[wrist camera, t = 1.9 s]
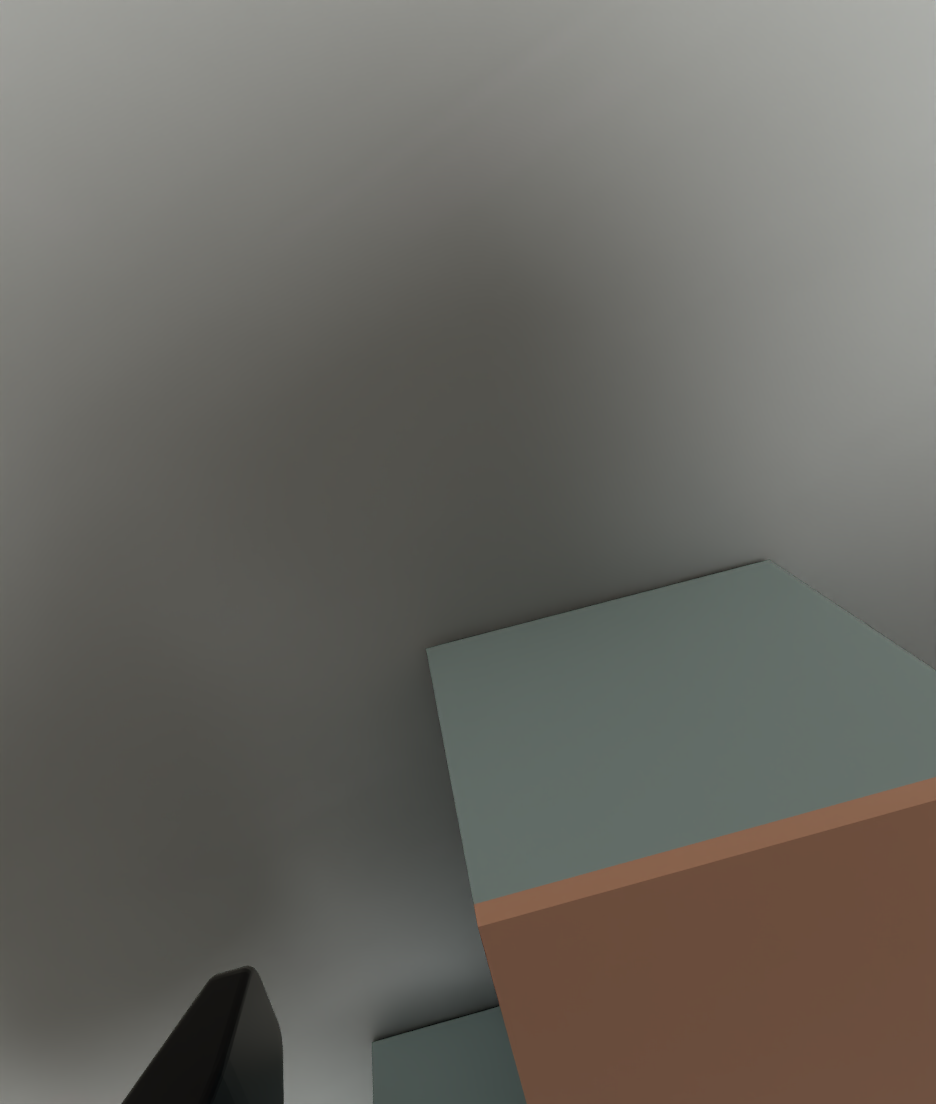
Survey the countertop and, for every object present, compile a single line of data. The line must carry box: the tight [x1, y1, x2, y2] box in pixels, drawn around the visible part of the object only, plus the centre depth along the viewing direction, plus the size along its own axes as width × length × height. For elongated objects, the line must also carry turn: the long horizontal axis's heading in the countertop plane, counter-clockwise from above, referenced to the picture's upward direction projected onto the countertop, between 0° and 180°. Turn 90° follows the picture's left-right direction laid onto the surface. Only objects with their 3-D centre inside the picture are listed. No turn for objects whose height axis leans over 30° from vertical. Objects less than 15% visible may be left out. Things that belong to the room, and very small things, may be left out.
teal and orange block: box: [426, 560, 936, 1104], centre depth 8 cm, size 4×5×4 cm
